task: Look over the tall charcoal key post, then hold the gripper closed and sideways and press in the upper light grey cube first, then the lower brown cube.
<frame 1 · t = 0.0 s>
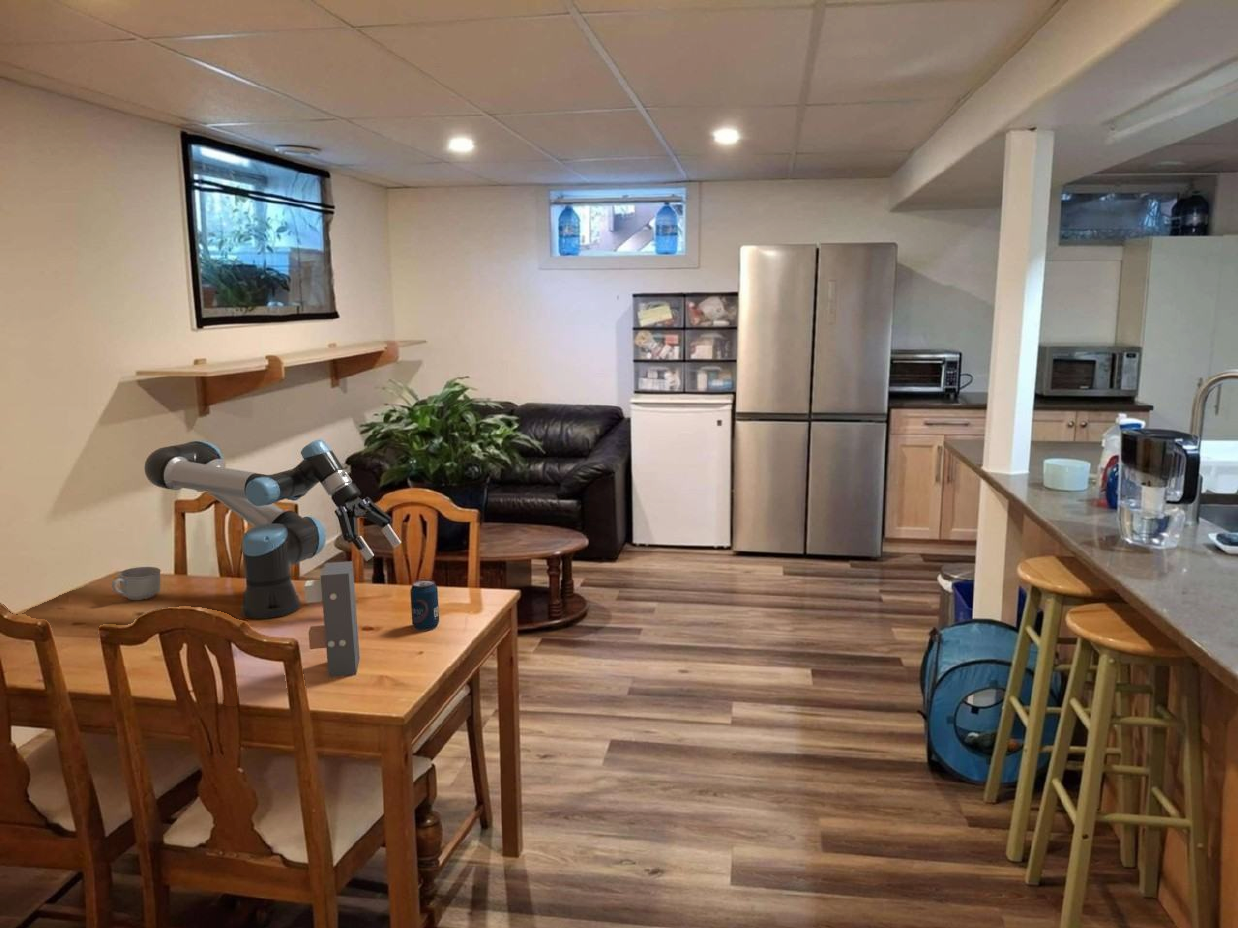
hand: (384, 551, 246), 15 cm above the table, tool tilted 35°, fingers open, 13 cm apart
brown cube: (319, 636, 202), point 8 cm above the table, slide at 0.0 cm
teacup: (137, 599, 258), on the table
soda can: (426, 627, 230), on the table
light grey cube: (315, 590, 200), point 19 cm above the table, slide at 0.0 cm
key post: (344, 667, 204), on the table
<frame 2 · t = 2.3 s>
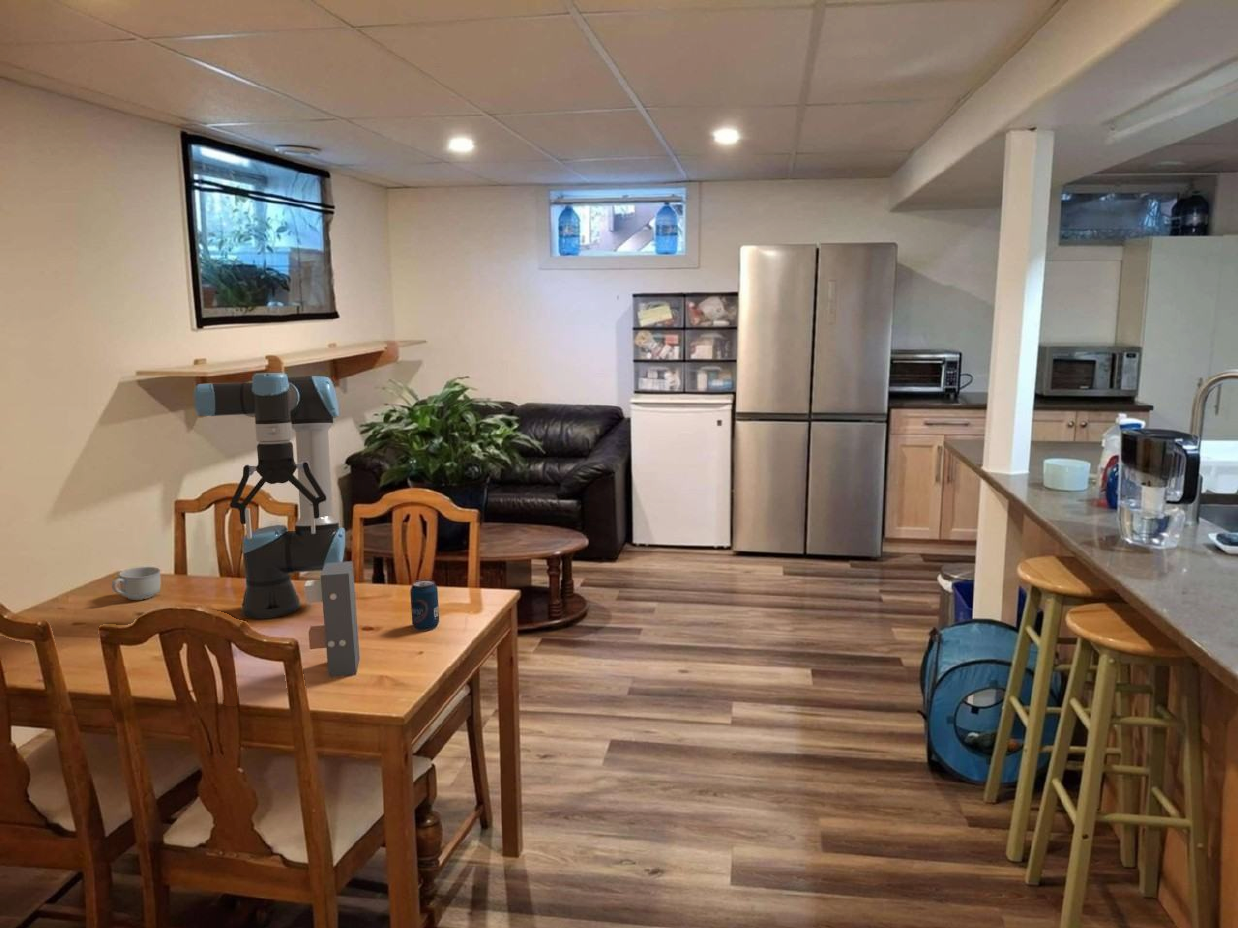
hand: (281, 535, 199), 32 cm above the table, tool pointing down, fingers open, 13 cm apart
nothing on the table moved.
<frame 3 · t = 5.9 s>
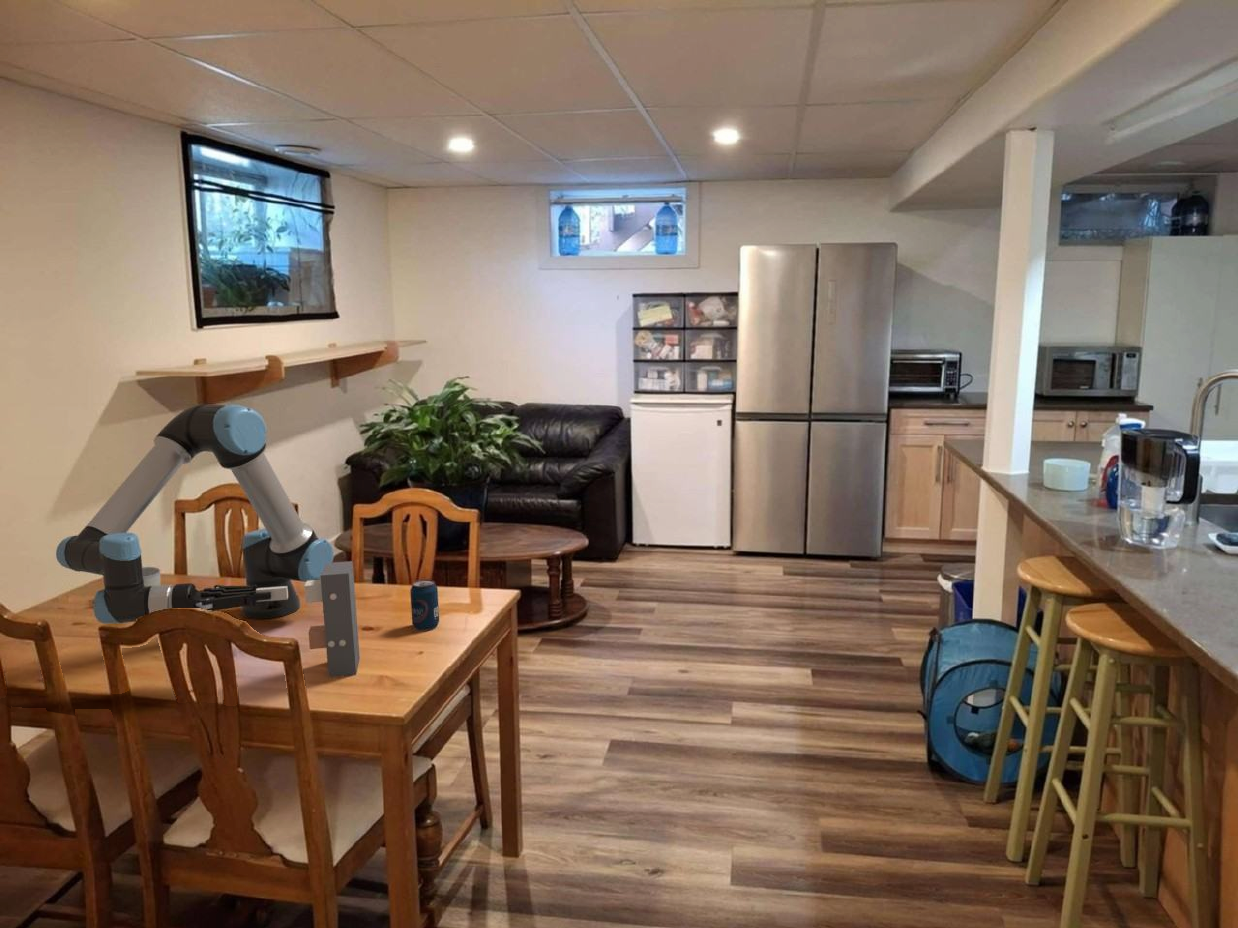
hand: (287, 592, 199), 19 cm above the table, tool horizontal, fingers closed
nothing on the table moved.
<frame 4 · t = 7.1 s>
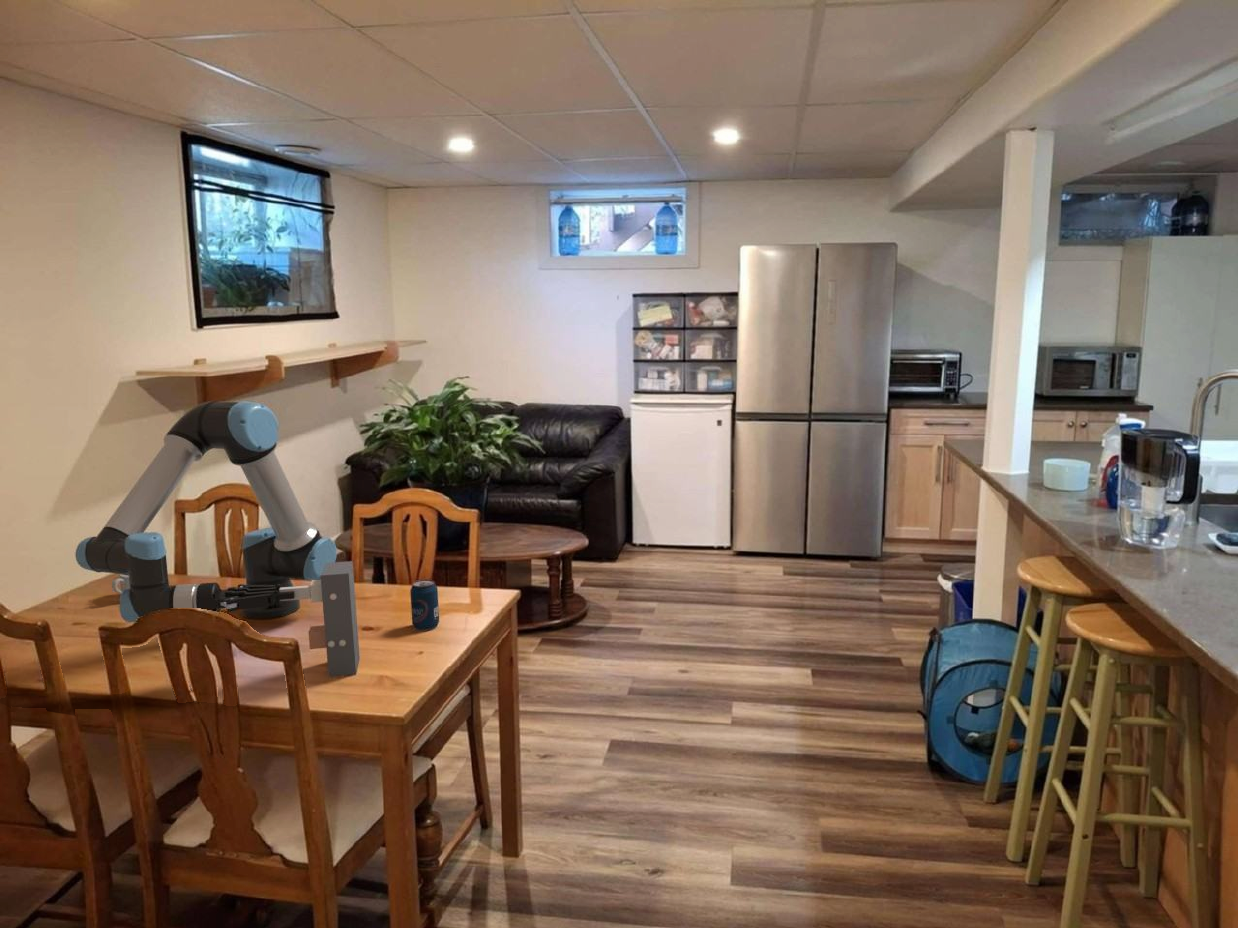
hand: (310, 591, 200), 19 cm above the table, tool horizontal, fingers closed
light grey cube: (320, 590, 200), point 19 cm above the table, slide at 1.2 cm, touching gripper
everything else where it was.
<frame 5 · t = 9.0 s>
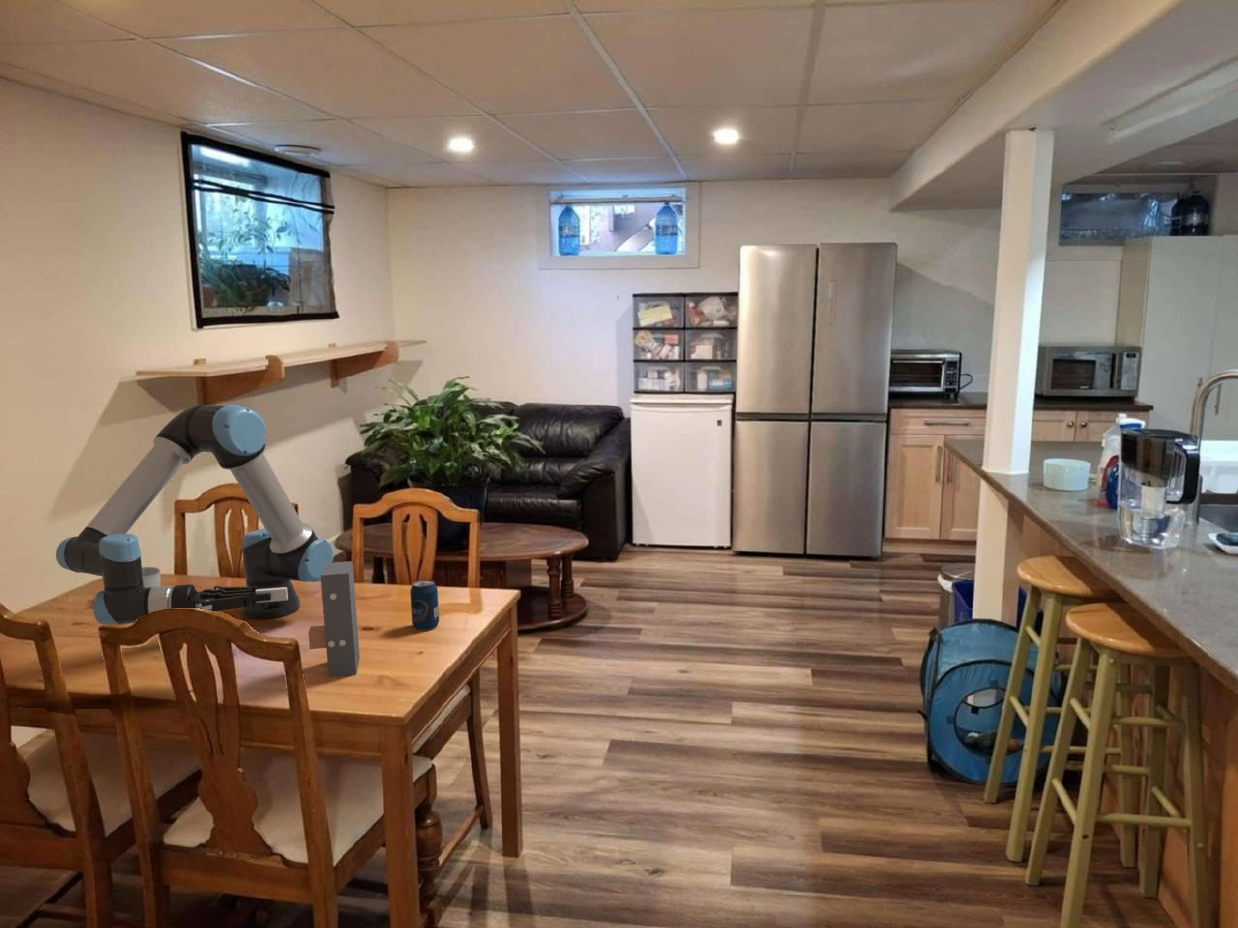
hand: (286, 593, 199), 19 cm above the table, tool horizontal, fingers closed
light grey cube: (331, 589, 201), point 19 cm above the table, slide at 3.5 cm
everything else where it was.
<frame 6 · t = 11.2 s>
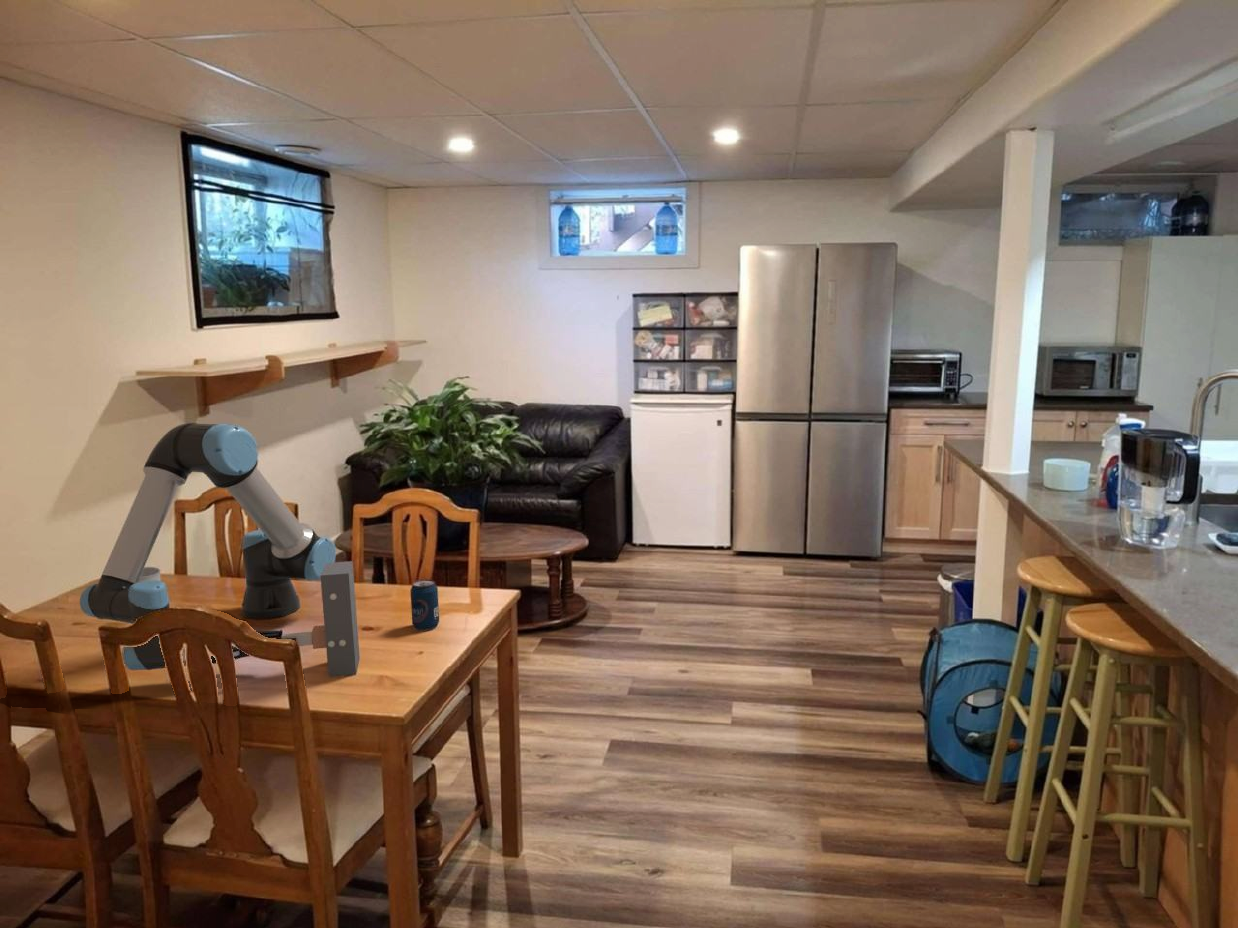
hand: (312, 638, 201), 8 cm above the table, tool horizontal, fingers closed
brown cube: (322, 636, 202), point 8 cm above the table, slide at 0.7 cm, touching gripper
everything else where it was.
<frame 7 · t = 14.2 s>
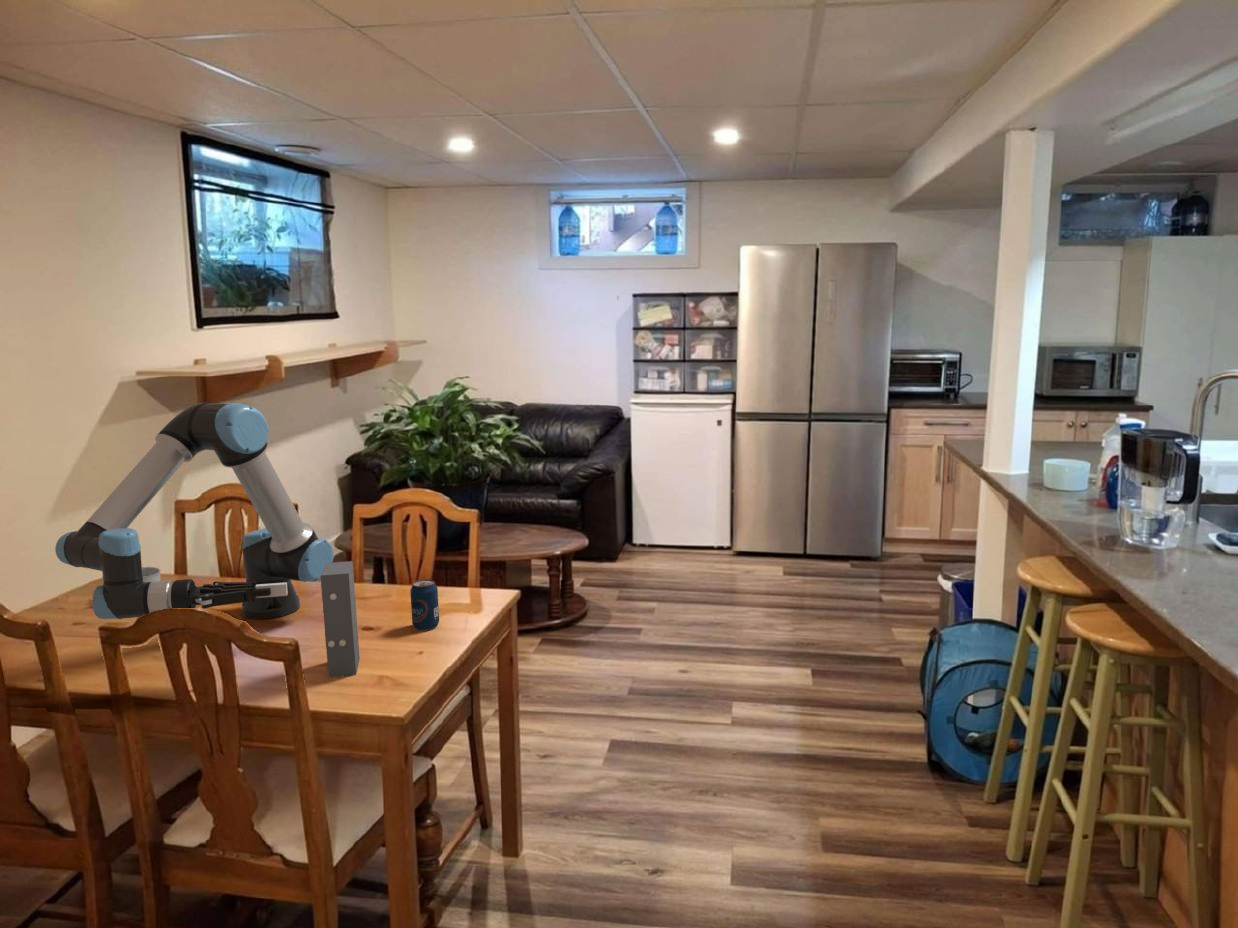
hand: (286, 589, 199), 20 cm above the table, tool horizontal, fingers closed
brown cube: (335, 635, 203), point 8 cm above the table, slide at 3.5 cm
everything else where it was.
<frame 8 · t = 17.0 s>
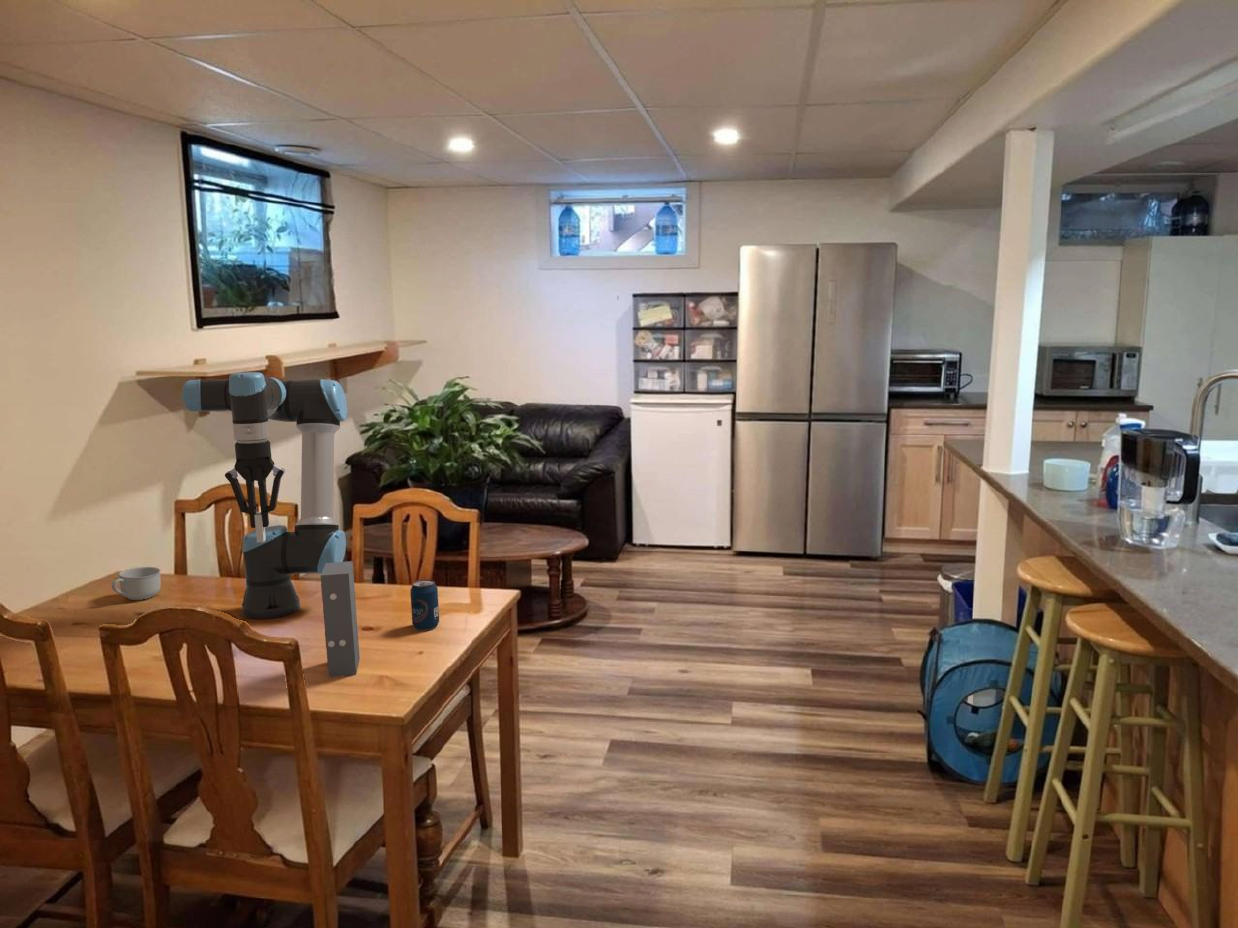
hand: (261, 540, 204), 29 cm above the table, tool pointing down, fingers closed
nothing on the table moved.
at the end: light grey cube slide at 3.5 cm; brown cube slide at 3.5 cm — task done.
